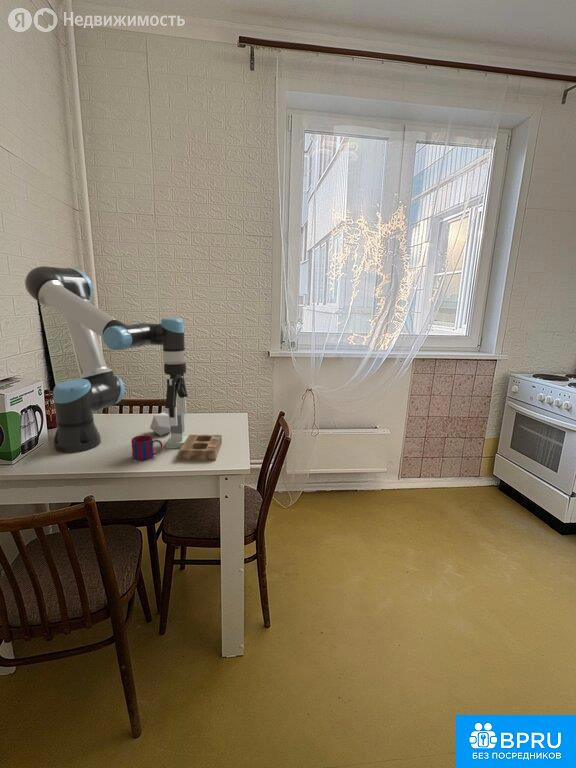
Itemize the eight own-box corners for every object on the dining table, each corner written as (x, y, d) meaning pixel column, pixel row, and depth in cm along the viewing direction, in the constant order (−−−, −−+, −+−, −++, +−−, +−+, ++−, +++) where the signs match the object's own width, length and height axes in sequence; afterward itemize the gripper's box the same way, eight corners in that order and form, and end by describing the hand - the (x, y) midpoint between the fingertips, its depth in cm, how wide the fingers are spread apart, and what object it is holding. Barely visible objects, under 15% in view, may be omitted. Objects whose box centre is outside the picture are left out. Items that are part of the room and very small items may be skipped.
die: (177, 436, 151) (179, 413, 156) (159, 431, 145) (162, 406, 149) (162, 440, 156) (165, 417, 160) (144, 435, 149) (147, 411, 153)
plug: (171, 441, 140) (169, 415, 137) (174, 437, 144) (172, 411, 141) (182, 441, 140) (181, 415, 138) (184, 437, 144) (183, 411, 141)
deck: (166, 447, 139) (165, 442, 138) (171, 440, 145) (171, 435, 145) (185, 448, 139) (185, 442, 138) (189, 440, 146) (189, 435, 145)
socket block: (179, 460, 129) (179, 449, 128) (189, 443, 143) (189, 434, 142) (215, 460, 129) (215, 450, 128) (221, 443, 144) (221, 434, 143)
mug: (138, 452, 134) (137, 434, 132) (166, 454, 133) (165, 436, 131) (128, 460, 127) (127, 441, 126) (157, 462, 126) (156, 443, 125)
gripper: (176, 368, 123) (180, 431, 128) (192, 357, 148) (195, 409, 152) (152, 368, 123) (157, 431, 128) (173, 357, 147) (176, 409, 152)
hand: (178, 419), depth 140 cm, fingers open, 13 cm apart
